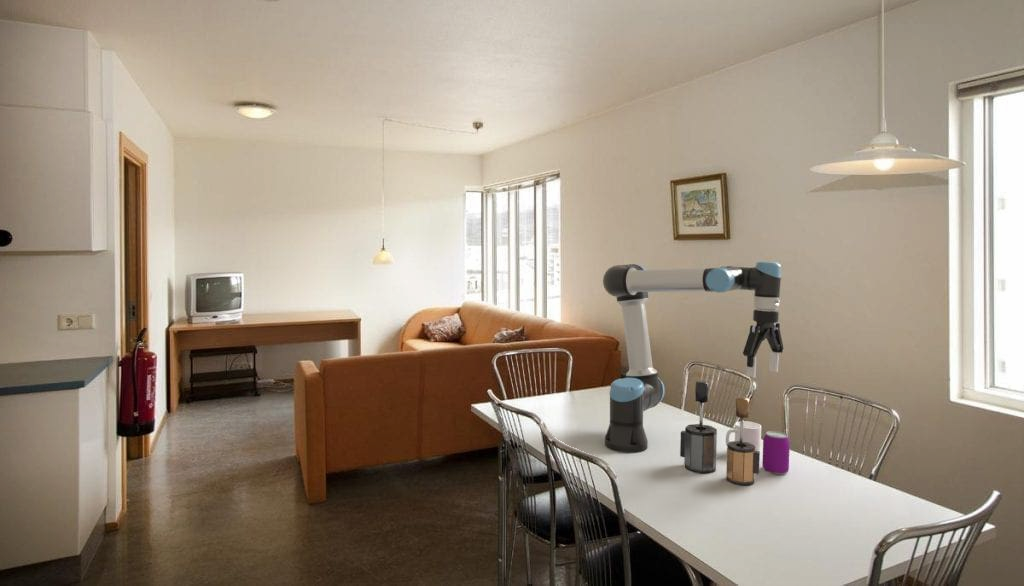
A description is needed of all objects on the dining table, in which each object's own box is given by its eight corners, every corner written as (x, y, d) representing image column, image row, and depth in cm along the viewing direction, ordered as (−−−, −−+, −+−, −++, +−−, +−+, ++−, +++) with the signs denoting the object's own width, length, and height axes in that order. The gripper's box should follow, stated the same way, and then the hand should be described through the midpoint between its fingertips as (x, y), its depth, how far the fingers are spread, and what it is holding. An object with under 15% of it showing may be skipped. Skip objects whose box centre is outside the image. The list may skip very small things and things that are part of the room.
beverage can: (768, 464, 194) (769, 428, 193) (792, 471, 189) (793, 434, 188) (758, 470, 189) (759, 433, 188) (782, 477, 183) (784, 439, 182)
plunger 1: (687, 440, 189) (688, 383, 188) (692, 434, 195) (694, 379, 194) (708, 443, 186) (710, 385, 185) (713, 438, 192) (715, 381, 190)
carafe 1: (676, 469, 190) (677, 429, 189) (684, 459, 199) (685, 421, 198) (711, 475, 185) (712, 434, 184) (718, 466, 193) (719, 426, 192)
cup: (765, 457, 201) (766, 428, 200) (730, 458, 200) (731, 429, 199) (752, 449, 209) (753, 420, 208) (720, 450, 208) (720, 421, 207)
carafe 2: (723, 482, 180) (724, 446, 179) (729, 473, 187) (730, 439, 186) (755, 488, 175) (757, 452, 174) (760, 479, 182) (761, 444, 181)
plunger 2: (730, 456, 180) (731, 398, 178) (733, 451, 184) (735, 395, 183) (748, 460, 177) (750, 401, 176) (751, 454, 181) (753, 397, 180)
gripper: (755, 313, 182) (751, 381, 184) (797, 308, 197) (793, 371, 199) (733, 310, 188) (730, 376, 190) (775, 306, 203) (771, 367, 205)
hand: (762, 374), depth 195 cm, fingers open, 13 cm apart
